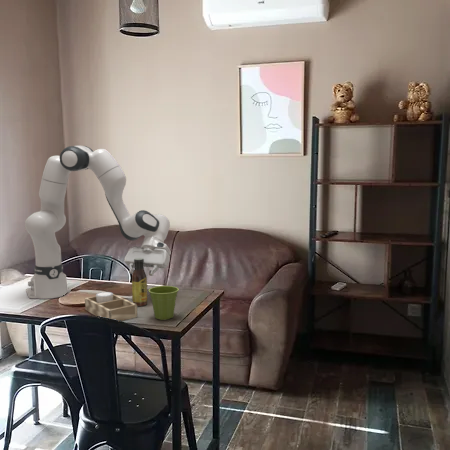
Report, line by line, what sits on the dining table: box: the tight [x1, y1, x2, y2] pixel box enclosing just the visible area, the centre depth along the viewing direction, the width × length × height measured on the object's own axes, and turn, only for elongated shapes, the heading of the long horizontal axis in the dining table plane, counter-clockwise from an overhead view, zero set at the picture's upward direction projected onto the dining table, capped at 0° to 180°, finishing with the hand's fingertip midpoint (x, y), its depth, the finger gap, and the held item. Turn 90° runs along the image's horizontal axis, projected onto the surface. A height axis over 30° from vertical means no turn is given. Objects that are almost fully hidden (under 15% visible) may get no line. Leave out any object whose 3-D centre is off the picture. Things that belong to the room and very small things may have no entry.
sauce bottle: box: [131, 258, 148, 307], centre depth 213 cm, size 6×6×20 cm
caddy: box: [84, 293, 138, 322], centre depth 202 cm, size 22×12×5 cm, turn 39°
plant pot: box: [147, 285, 180, 321], centre depth 197 cm, size 12×12×11 cm
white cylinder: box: [95, 291, 114, 303], centre depth 206 cm, size 7×7×7 cm
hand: (140, 274), depth 214 cm, fingers open, 8 cm apart
